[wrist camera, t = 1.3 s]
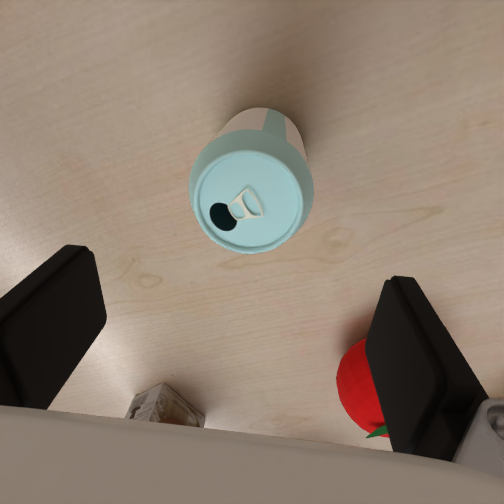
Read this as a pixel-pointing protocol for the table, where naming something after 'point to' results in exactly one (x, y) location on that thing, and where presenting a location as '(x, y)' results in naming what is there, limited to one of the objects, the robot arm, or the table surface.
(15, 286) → the robot arm
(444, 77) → the table surface
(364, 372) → the tomato
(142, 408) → the coffee box
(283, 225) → the can
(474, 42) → the table surface
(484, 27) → the table surface
